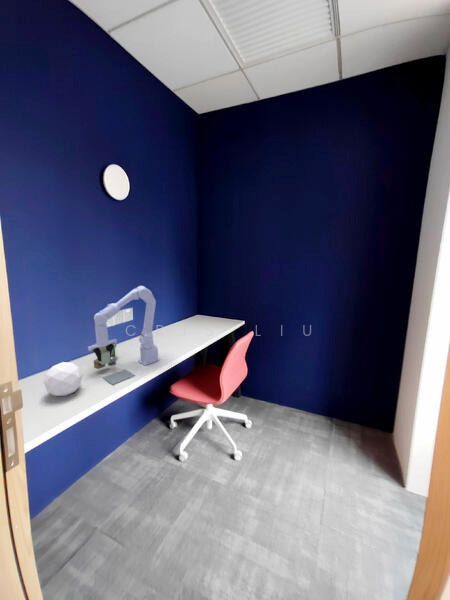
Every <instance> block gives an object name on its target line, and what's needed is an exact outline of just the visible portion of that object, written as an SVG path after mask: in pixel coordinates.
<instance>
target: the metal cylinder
mask: <svg viewBox="0 0 450 600" xmlns="http://www.w3.org/2000/svg"><path fill="white" fill-rule="evenodd" d="M110 360H111V362H109V363H107V365H108V366H114V365H116V363H117V362H116V361H117V360H116V355H115V356H111V358H110Z"/></svg>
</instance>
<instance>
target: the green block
mask: <svg viewBox="0 0 450 600" xmlns="http://www.w3.org/2000/svg"><path fill="white" fill-rule="evenodd" d="M109 362H111V360H110V351H108V350H102V351H101V361H99V363H100V364H102V365H103V364H105V365H106V364H108V363H109Z"/></svg>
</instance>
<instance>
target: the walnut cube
mask: <svg viewBox="0 0 450 600" xmlns="http://www.w3.org/2000/svg"><path fill="white" fill-rule="evenodd" d="M93 366H94V368H96V369H98V370H99V369H101V368H104V367H106V364H103V365H102V364H100V363H99V361H98V358H96V359H94V360H93Z"/></svg>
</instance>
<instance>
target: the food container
mask: <svg viewBox="0 0 450 600" xmlns="http://www.w3.org/2000/svg"><path fill="white" fill-rule="evenodd" d="M113 345H114V348H113V350H112V353H111V356H115V357H116V348H117V343H116V344H115V343H114V344H113ZM99 349H100V350H101V351H102V350H106V346H104V347H101V348H99Z"/></svg>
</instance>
